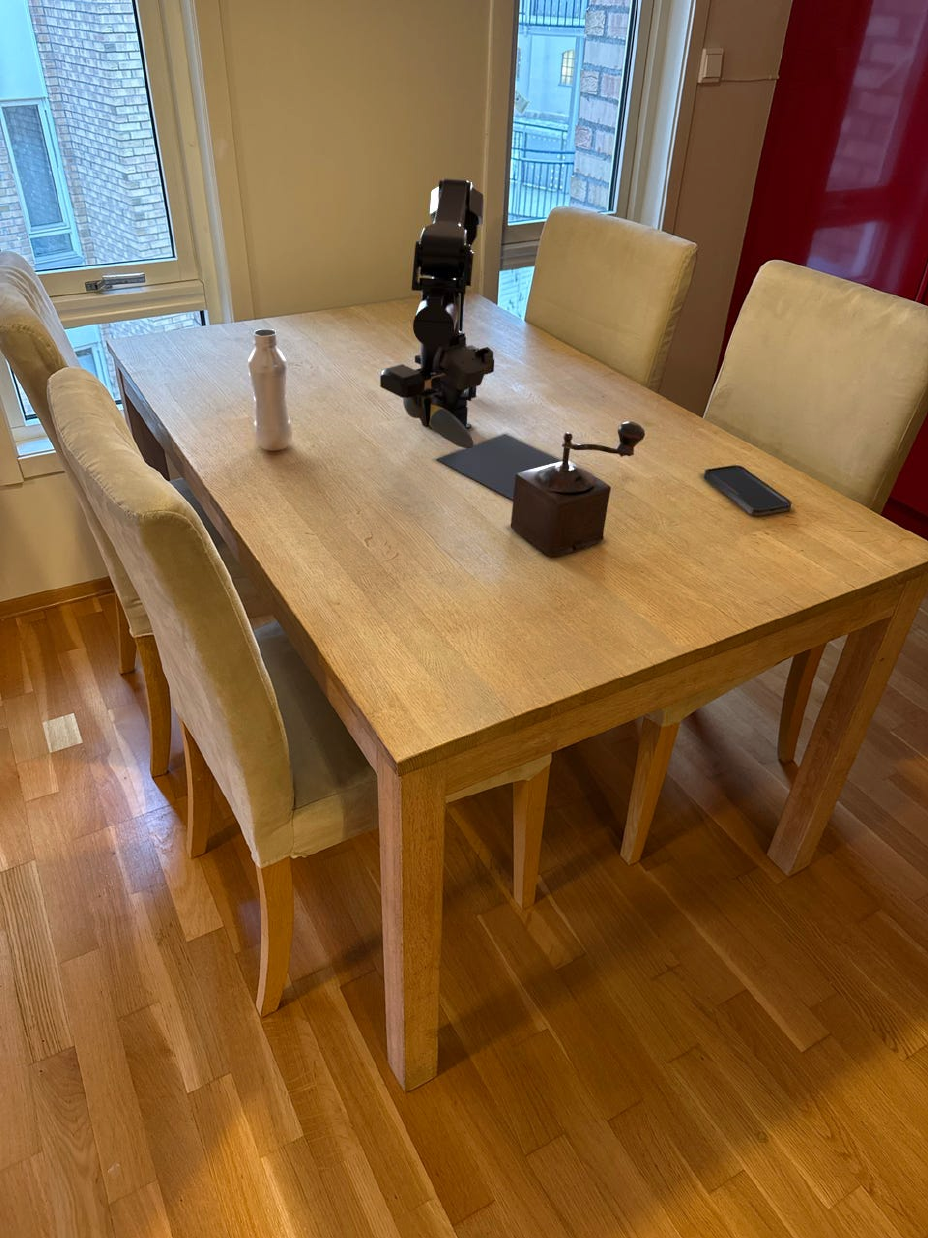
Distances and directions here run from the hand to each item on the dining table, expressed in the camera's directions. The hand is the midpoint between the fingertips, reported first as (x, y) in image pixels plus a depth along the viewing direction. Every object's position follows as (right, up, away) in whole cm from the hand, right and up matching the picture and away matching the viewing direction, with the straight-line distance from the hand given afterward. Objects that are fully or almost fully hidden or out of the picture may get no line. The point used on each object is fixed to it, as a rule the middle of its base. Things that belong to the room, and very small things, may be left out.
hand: (437, 422), depth 142 cm
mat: (+12, -5, +13) cm, 18 cm away
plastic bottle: (-29, -1, +15) cm, 32 cm away
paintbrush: (0, -1, +1) cm, 1 cm away
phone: (+51, -10, +9) cm, 53 cm away
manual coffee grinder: (+21, -18, -4) cm, 28 cm away
